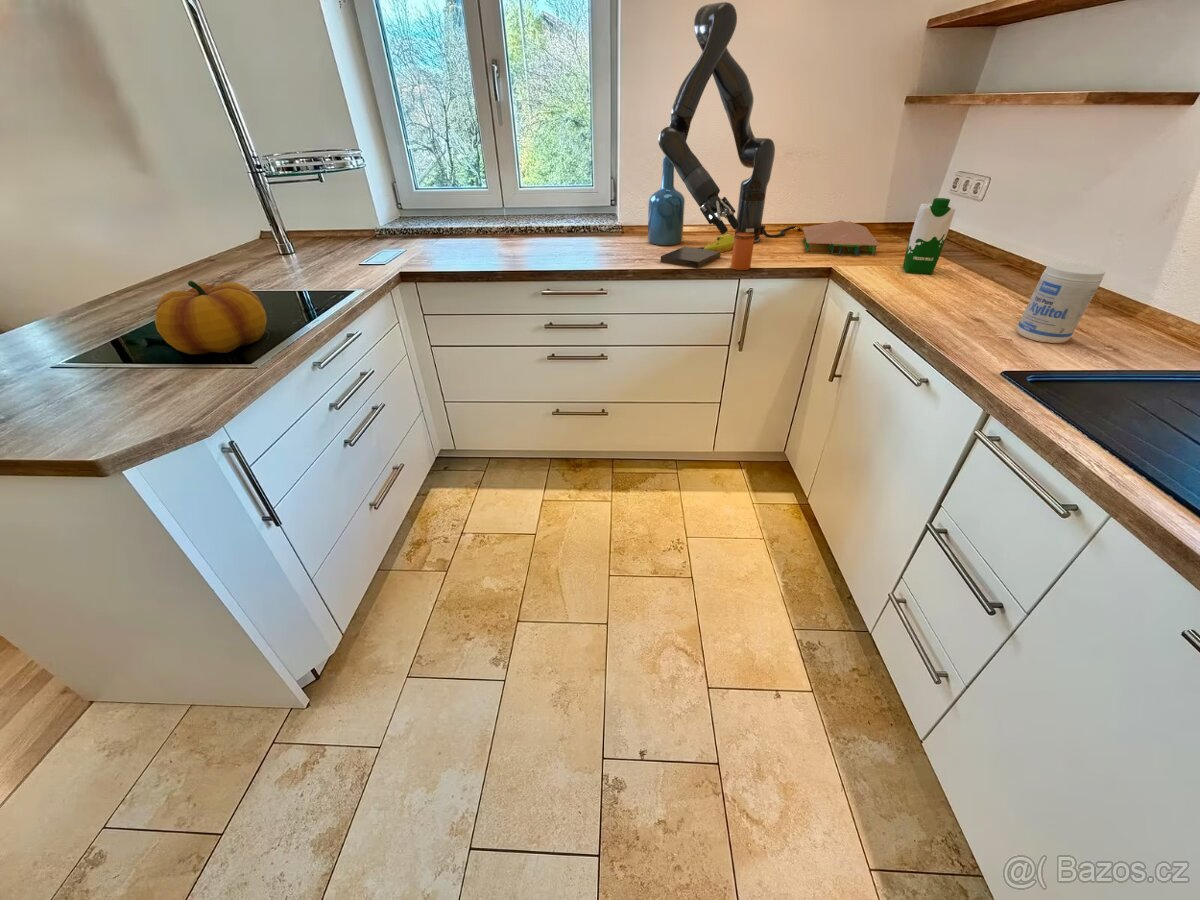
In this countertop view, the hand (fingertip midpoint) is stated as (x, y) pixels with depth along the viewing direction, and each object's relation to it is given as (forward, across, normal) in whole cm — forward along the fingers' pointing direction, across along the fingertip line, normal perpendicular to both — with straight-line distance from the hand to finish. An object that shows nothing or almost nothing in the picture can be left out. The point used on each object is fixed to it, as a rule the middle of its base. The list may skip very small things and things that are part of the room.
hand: (731, 229), depth 158 cm
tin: (+11, 0, +4) cm, 12 cm away
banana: (-2, +20, +18) cm, 27 cm away
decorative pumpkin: (-40, -124, +55) cm, 141 cm away
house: (+22, +46, -7) cm, 52 cm away
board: (-2, 0, +17) cm, 17 cm away
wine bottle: (-16, +18, +32) cm, 40 cm away
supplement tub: (+66, -17, -51) cm, 85 cm away
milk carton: (+44, +25, -28) cm, 57 cm away
